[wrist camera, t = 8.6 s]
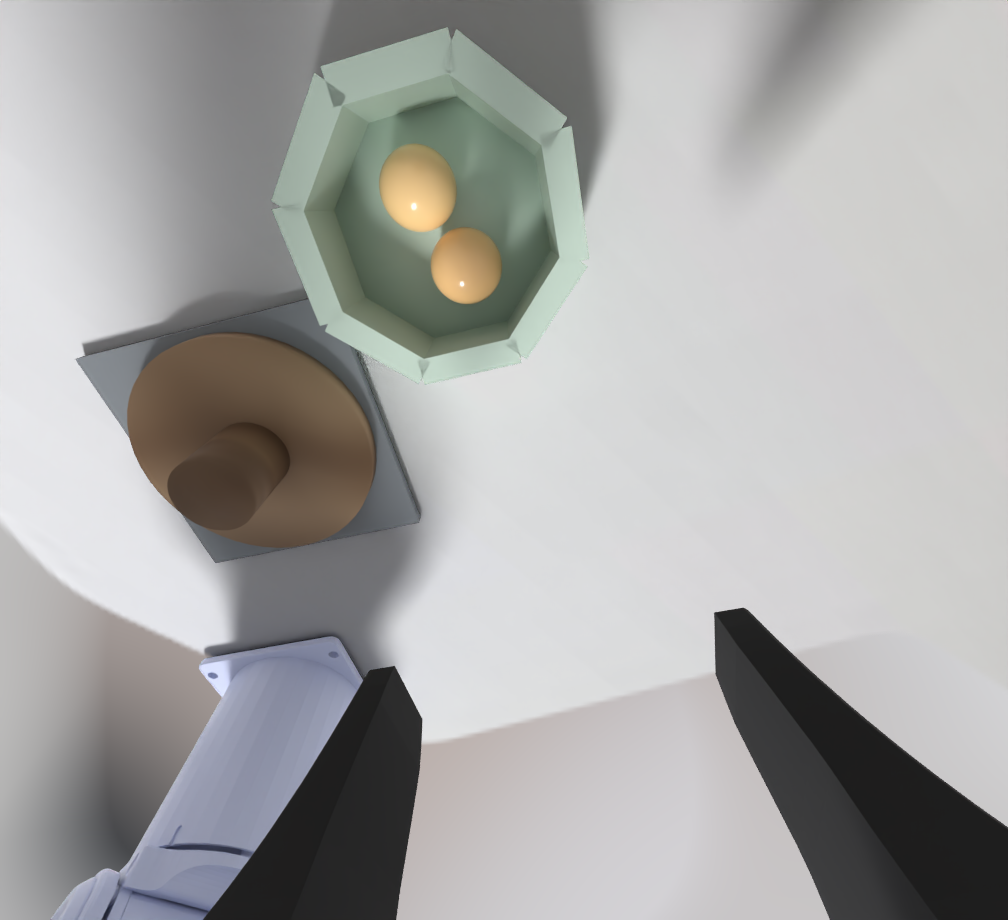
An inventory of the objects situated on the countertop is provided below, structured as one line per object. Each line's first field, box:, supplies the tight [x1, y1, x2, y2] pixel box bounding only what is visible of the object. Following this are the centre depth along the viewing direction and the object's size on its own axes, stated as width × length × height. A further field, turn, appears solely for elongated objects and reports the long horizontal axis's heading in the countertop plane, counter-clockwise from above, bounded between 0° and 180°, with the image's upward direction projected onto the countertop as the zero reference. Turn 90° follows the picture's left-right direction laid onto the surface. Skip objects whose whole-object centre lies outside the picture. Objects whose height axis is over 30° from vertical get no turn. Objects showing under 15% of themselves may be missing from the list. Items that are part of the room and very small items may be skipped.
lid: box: [127, 332, 377, 548], centre depth 17 cm, size 9×9×4 cm
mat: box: [76, 299, 420, 563], centre depth 19 cm, size 10×10×1 cm
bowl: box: [271, 27, 589, 385], centre depth 14 cm, size 8×8×3 cm
